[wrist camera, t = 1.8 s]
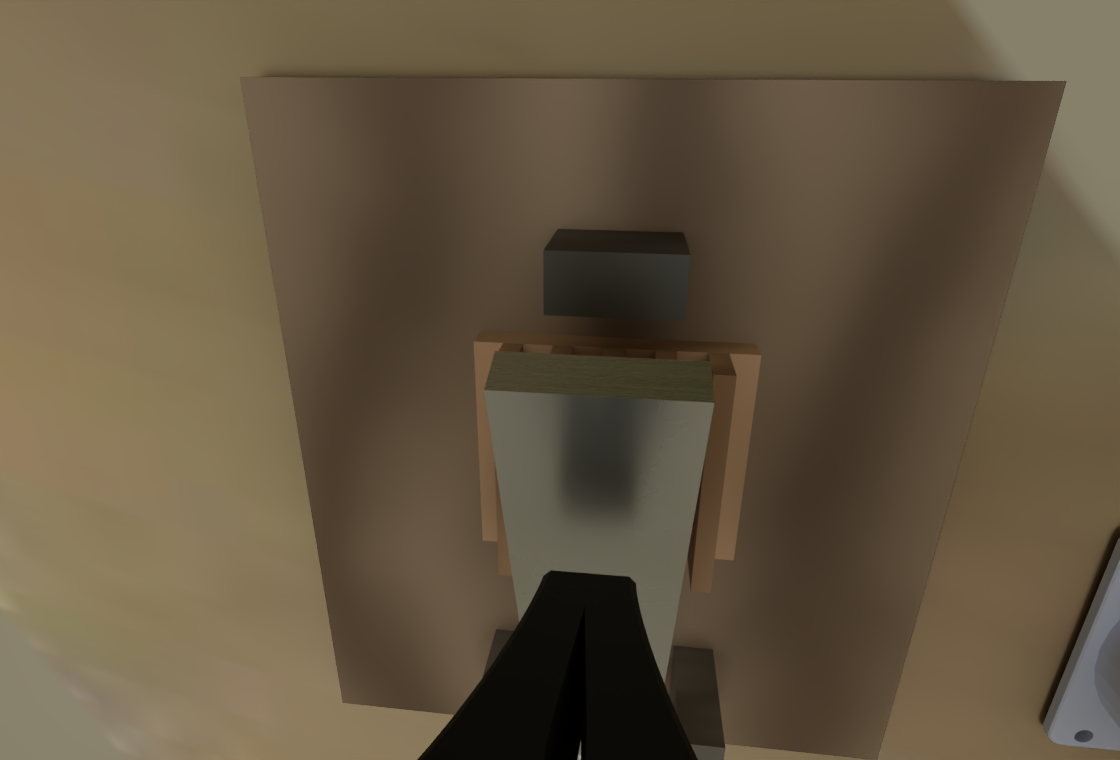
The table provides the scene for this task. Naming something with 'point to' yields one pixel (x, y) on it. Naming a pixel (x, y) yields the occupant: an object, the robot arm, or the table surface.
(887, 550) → the strap board
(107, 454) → the table surface
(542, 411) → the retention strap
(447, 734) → the robot arm
